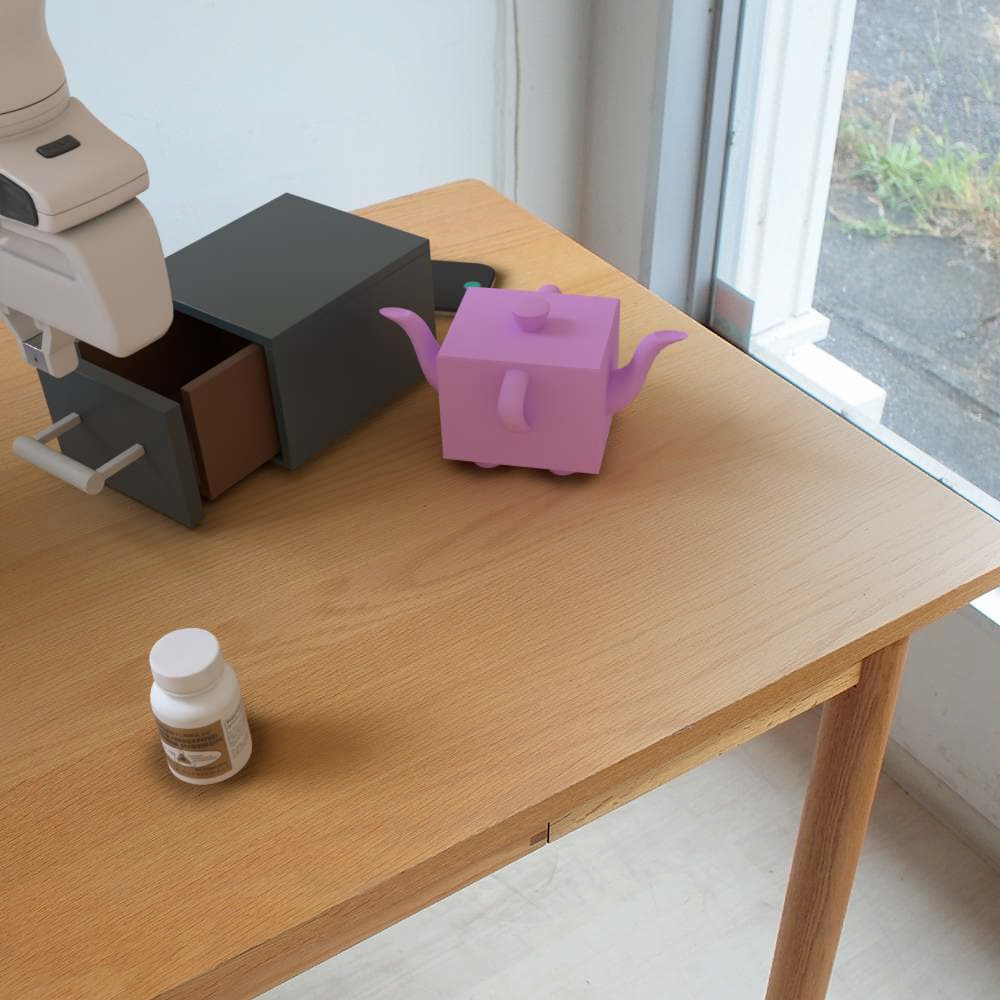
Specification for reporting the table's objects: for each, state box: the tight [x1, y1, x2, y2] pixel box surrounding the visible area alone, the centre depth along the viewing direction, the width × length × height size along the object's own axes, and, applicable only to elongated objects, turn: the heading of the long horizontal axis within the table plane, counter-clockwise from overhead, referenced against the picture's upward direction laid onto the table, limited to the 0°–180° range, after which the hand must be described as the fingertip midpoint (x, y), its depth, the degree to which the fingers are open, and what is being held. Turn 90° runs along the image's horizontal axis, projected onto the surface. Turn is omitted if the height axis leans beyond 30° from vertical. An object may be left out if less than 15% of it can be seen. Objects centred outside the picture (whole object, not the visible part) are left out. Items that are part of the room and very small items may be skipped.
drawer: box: [11, 309, 282, 529], centre depth 86 cm, size 19×12×9 cm, turn 144°
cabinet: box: [164, 192, 438, 472], centre depth 93 cm, size 16×14×11 cm
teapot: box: [379, 284, 689, 476], centre depth 87 cm, size 15×13×11 cm
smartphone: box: [431, 259, 497, 318], centre depth 106 cm, size 8×1×15 cm
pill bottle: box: [149, 627, 253, 786], centre depth 67 cm, size 4×4×8 cm
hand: (52, 366), depth 77 cm, fingers closed
